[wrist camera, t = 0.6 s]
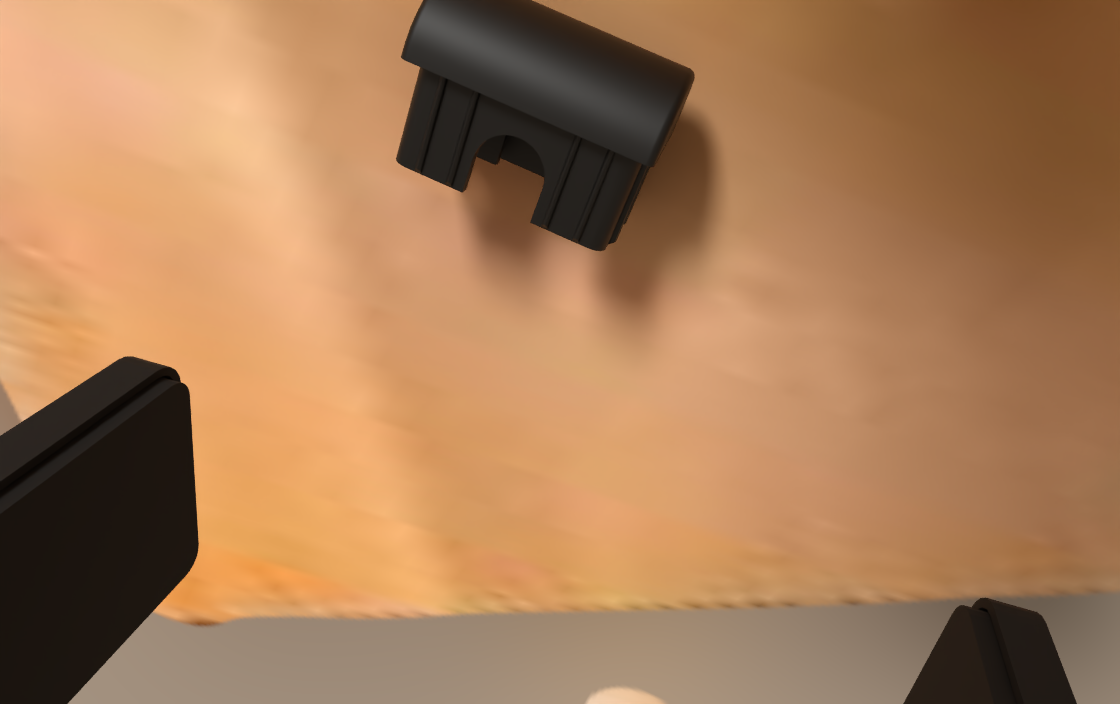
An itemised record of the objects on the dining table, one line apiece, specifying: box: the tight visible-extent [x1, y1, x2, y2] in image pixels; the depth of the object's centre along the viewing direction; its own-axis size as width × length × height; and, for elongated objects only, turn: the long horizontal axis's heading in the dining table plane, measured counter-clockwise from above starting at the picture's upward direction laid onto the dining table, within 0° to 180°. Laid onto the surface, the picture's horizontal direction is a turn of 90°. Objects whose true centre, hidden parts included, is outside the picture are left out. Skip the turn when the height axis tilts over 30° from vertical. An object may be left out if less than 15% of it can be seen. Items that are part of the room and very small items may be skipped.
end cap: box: [396, 0, 695, 251], centre depth 33 cm, size 10×7×7 cm
